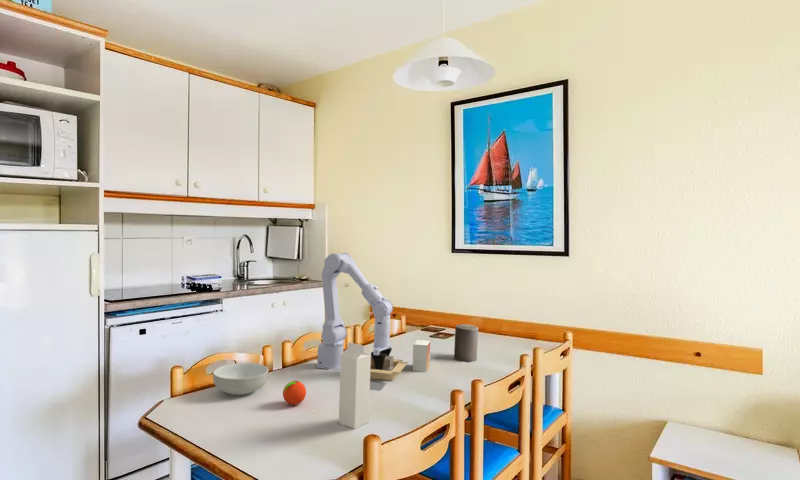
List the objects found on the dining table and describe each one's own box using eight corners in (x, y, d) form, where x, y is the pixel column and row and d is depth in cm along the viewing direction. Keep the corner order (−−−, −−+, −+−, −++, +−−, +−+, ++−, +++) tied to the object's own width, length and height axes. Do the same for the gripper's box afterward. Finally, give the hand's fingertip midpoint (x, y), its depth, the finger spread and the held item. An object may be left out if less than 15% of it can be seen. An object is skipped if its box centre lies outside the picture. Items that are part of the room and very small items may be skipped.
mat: (346, 387, 159) (346, 386, 159) (354, 380, 166) (354, 379, 166) (380, 391, 156) (380, 390, 156) (386, 384, 163) (386, 383, 163)
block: (368, 374, 173) (369, 357, 173) (372, 370, 178) (373, 354, 178) (389, 376, 171) (390, 359, 171) (393, 372, 176) (393, 356, 176)
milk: (353, 417, 135) (355, 340, 134) (369, 422, 131) (371, 343, 131) (338, 423, 130) (340, 343, 129) (354, 429, 126) (356, 347, 126)
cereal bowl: (215, 404, 141) (216, 380, 141) (210, 386, 156) (210, 365, 156) (272, 396, 149) (273, 374, 149) (262, 380, 164) (262, 360, 164)
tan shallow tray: (350, 379, 168) (350, 369, 168) (366, 365, 185) (366, 356, 185) (397, 384, 163) (397, 374, 163) (408, 369, 181) (409, 360, 181)
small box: (426, 373, 177) (427, 345, 177) (412, 371, 179) (413, 344, 178) (429, 367, 185) (430, 340, 185) (415, 365, 186) (416, 339, 186)
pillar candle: (451, 360, 196) (452, 324, 196) (457, 354, 205) (458, 320, 205) (474, 363, 192) (475, 327, 192) (479, 357, 202) (481, 322, 201)
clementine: (291, 411, 137) (292, 387, 137) (274, 406, 141) (275, 382, 141) (310, 403, 144) (311, 380, 144) (294, 398, 148) (294, 375, 148)
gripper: (387, 338, 166) (386, 376, 166) (397, 330, 180) (396, 365, 180) (368, 336, 168) (367, 374, 168) (379, 328, 182) (378, 363, 182)
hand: (381, 369), depth 174 cm, fingers closed on block, 5 cm apart
